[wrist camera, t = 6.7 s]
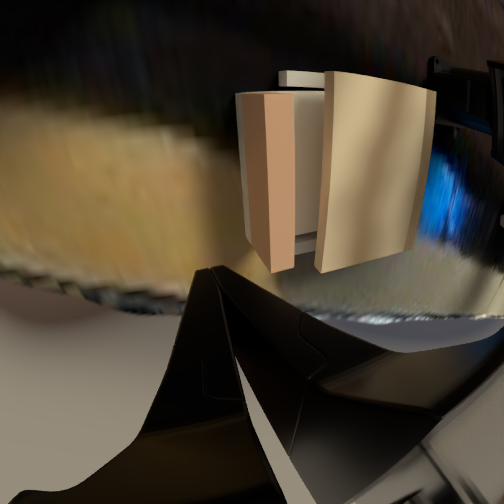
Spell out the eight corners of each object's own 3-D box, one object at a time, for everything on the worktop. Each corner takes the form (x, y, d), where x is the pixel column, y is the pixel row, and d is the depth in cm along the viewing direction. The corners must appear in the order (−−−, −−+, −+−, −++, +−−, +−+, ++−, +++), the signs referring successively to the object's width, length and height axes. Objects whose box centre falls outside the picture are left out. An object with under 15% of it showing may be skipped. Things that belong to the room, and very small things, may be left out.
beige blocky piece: (383, 95, 19) (431, 103, 15) (375, 208, 25) (414, 234, 21) (234, 93, 16) (263, 94, 12) (244, 235, 22) (270, 273, 18)
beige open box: (399, 85, 19) (436, 91, 16) (383, 228, 26) (412, 248, 23) (278, 71, 16) (310, 68, 13) (277, 249, 23) (301, 278, 20)
